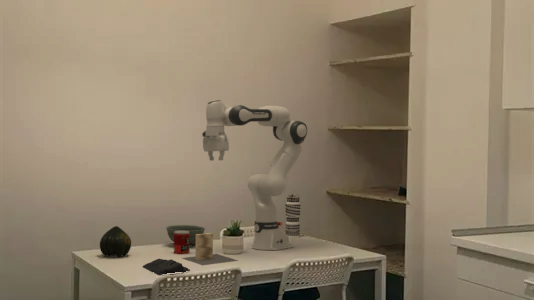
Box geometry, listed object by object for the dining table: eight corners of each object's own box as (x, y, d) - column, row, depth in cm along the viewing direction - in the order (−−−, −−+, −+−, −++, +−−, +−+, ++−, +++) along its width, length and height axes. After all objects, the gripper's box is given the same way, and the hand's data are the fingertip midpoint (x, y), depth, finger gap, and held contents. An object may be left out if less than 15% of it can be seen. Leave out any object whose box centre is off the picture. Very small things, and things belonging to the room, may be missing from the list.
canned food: (183, 255, 314) (183, 233, 314) (170, 253, 318) (170, 231, 318) (192, 253, 321) (192, 231, 320) (180, 251, 325) (180, 230, 324)
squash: (111, 249, 298) (126, 223, 307) (89, 247, 306) (104, 221, 315) (128, 265, 307) (142, 239, 316) (106, 263, 315) (120, 238, 324)
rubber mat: (216, 254, 317) (216, 253, 317) (238, 261, 301) (239, 260, 301) (181, 258, 306) (181, 258, 306) (202, 266, 290) (202, 265, 290)
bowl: (159, 244, 345) (159, 225, 345) (194, 241, 357) (194, 223, 356) (176, 250, 328) (176, 230, 328) (211, 246, 339) (212, 228, 339)
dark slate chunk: (171, 264, 295) (171, 254, 295) (192, 273, 277) (192, 262, 277) (139, 267, 287) (139, 257, 287) (159, 277, 268) (159, 266, 268)
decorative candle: (288, 237, 372) (288, 195, 372) (282, 235, 381) (283, 193, 381) (302, 237, 375) (303, 194, 375) (296, 234, 384) (297, 193, 384)
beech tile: (209, 257, 307) (210, 232, 307) (212, 258, 305) (212, 233, 305) (195, 259, 302) (195, 234, 302) (198, 260, 300) (198, 235, 300)
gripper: (231, 131, 311) (232, 160, 311) (211, 133, 328) (212, 160, 328) (220, 131, 307) (221, 160, 307) (200, 133, 324) (201, 160, 324)
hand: (216, 160), depth 318 cm, fingers open, 8 cm apart
